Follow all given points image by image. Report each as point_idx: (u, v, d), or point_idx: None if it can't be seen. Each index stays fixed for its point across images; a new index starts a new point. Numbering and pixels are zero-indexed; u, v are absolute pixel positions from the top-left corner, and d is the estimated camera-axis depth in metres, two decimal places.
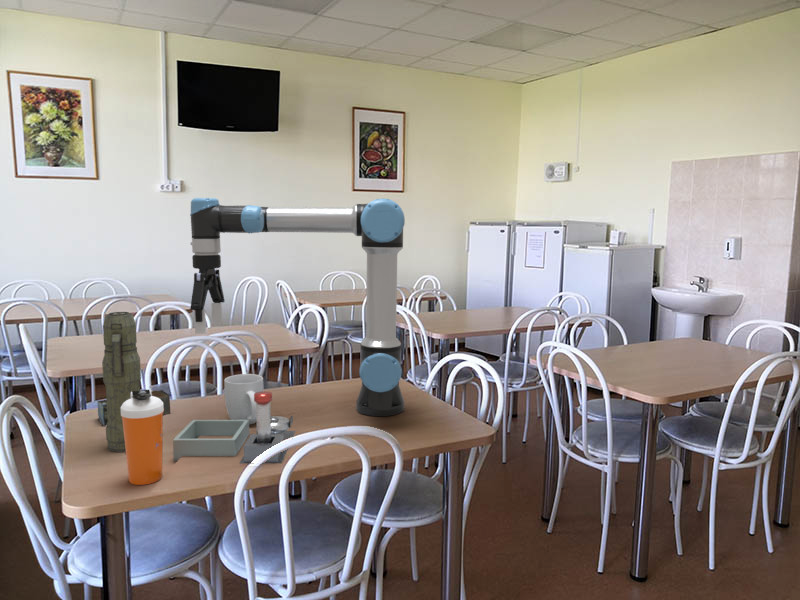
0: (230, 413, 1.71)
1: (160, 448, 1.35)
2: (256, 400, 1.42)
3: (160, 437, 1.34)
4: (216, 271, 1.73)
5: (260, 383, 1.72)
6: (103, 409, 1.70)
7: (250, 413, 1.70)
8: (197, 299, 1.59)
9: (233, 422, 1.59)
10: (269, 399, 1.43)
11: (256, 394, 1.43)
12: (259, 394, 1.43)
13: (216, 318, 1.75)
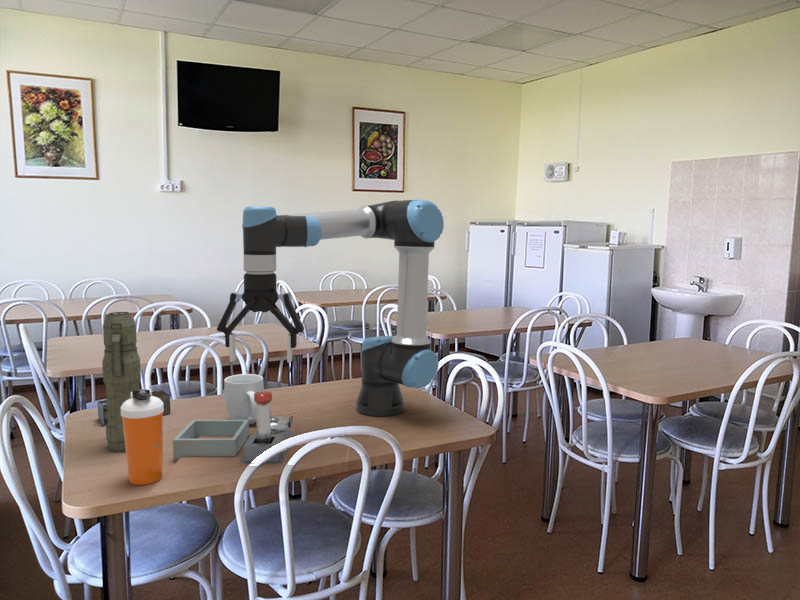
0: (230, 413, 1.71)
1: (160, 448, 1.35)
2: (256, 400, 1.42)
3: (160, 437, 1.34)
4: None
5: (260, 383, 1.72)
6: (103, 409, 1.69)
7: (250, 413, 1.70)
8: (221, 321, 1.41)
9: (233, 422, 1.59)
10: (269, 399, 1.43)
11: (256, 394, 1.43)
12: (259, 394, 1.43)
13: None
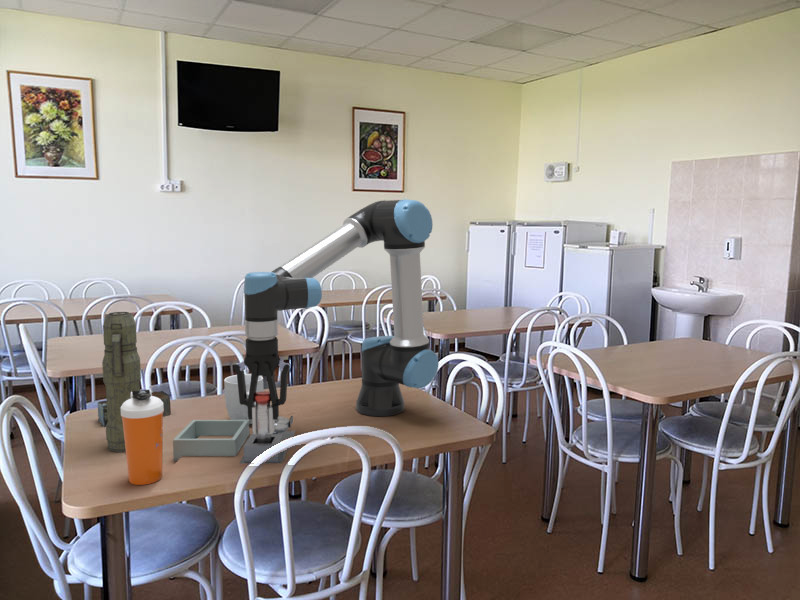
0: (230, 413, 1.71)
1: (160, 448, 1.35)
2: (256, 400, 1.42)
3: (160, 437, 1.34)
4: (284, 365, 1.42)
5: (260, 383, 1.72)
6: (103, 410, 1.69)
7: None
8: None
9: (233, 422, 1.59)
10: (269, 399, 1.43)
11: (256, 394, 1.43)
12: (259, 394, 1.43)
13: None
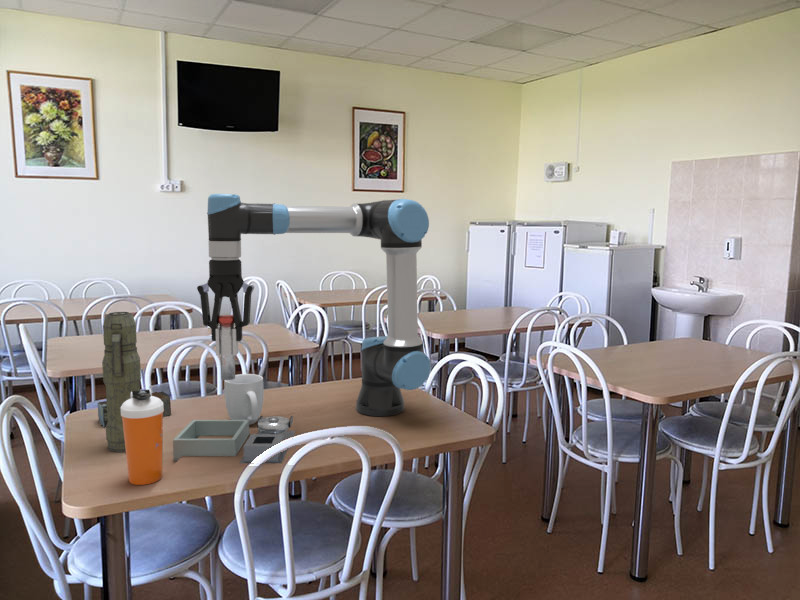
0: (230, 413, 1.71)
1: (160, 448, 1.35)
2: (220, 321, 1.44)
3: (160, 437, 1.34)
4: (248, 287, 1.44)
5: (260, 383, 1.72)
6: (103, 411, 1.68)
7: (250, 413, 1.70)
8: None
9: (233, 422, 1.59)
10: (233, 321, 1.45)
11: (220, 316, 1.45)
12: (222, 316, 1.45)
13: None
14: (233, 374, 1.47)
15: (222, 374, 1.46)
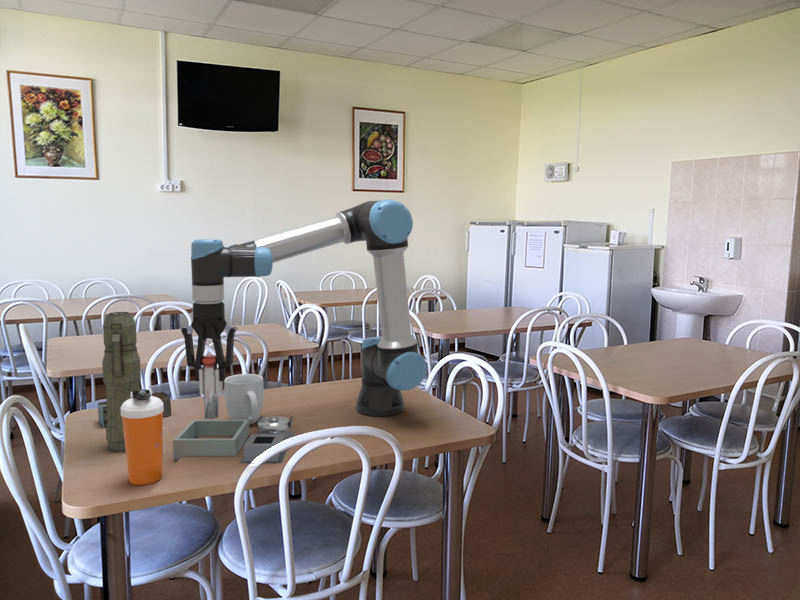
0: (230, 413, 1.71)
1: (160, 448, 1.35)
2: (203, 362, 1.48)
3: (160, 437, 1.34)
4: (230, 329, 1.48)
5: (260, 383, 1.72)
6: (103, 411, 1.68)
7: (250, 413, 1.70)
8: None
9: (233, 422, 1.59)
10: (215, 362, 1.49)
11: (203, 357, 1.49)
12: (206, 357, 1.49)
13: None
14: (216, 413, 1.51)
15: (205, 413, 1.50)
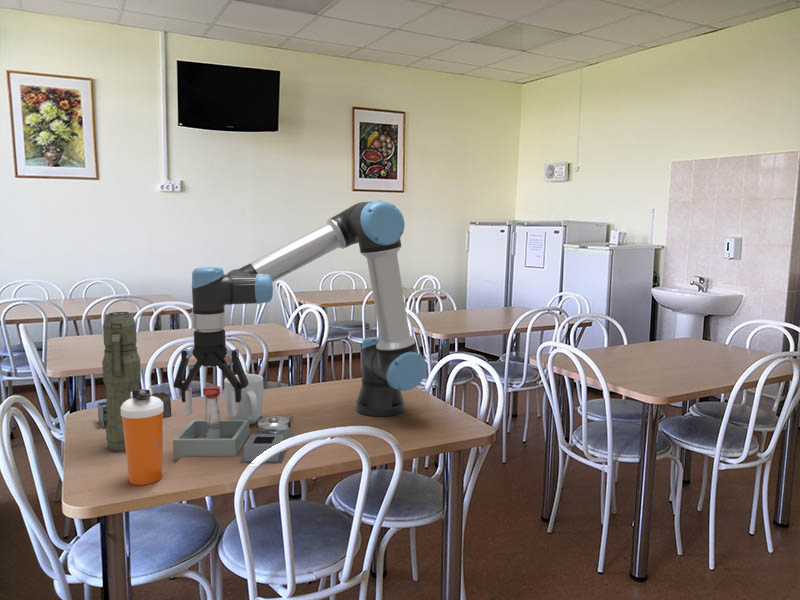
0: (230, 413, 1.71)
1: (160, 448, 1.35)
2: (205, 394, 1.49)
3: (160, 437, 1.34)
4: None
5: (260, 383, 1.72)
6: (103, 412, 1.68)
7: (250, 413, 1.70)
8: None
9: (233, 422, 1.59)
10: (217, 393, 1.50)
11: (205, 388, 1.50)
12: (207, 388, 1.51)
13: None
14: None
15: None
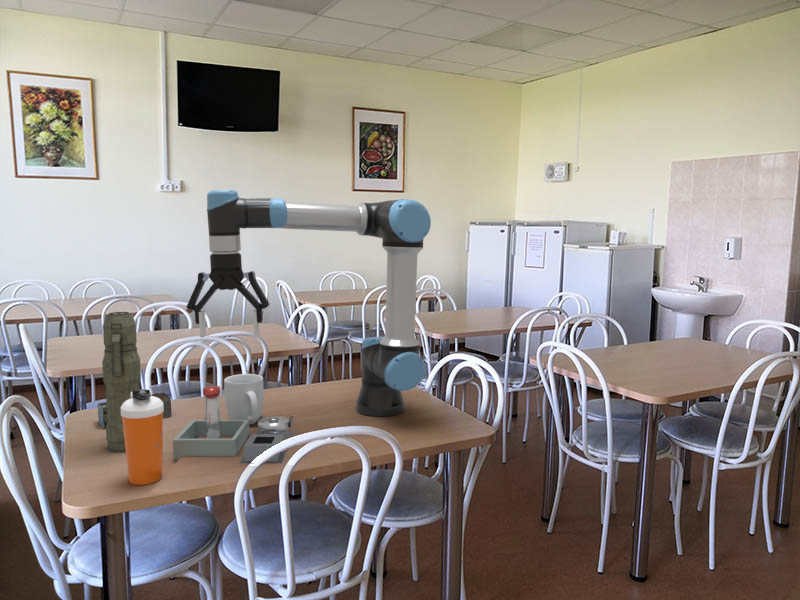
0: (230, 413, 1.71)
1: (160, 448, 1.35)
2: (204, 394, 1.49)
3: (160, 437, 1.34)
4: None
5: (260, 383, 1.72)
6: (103, 412, 1.67)
7: (250, 413, 1.70)
8: None
9: (233, 422, 1.59)
10: (217, 393, 1.50)
11: (205, 388, 1.50)
12: (207, 388, 1.51)
13: None
14: None
15: None
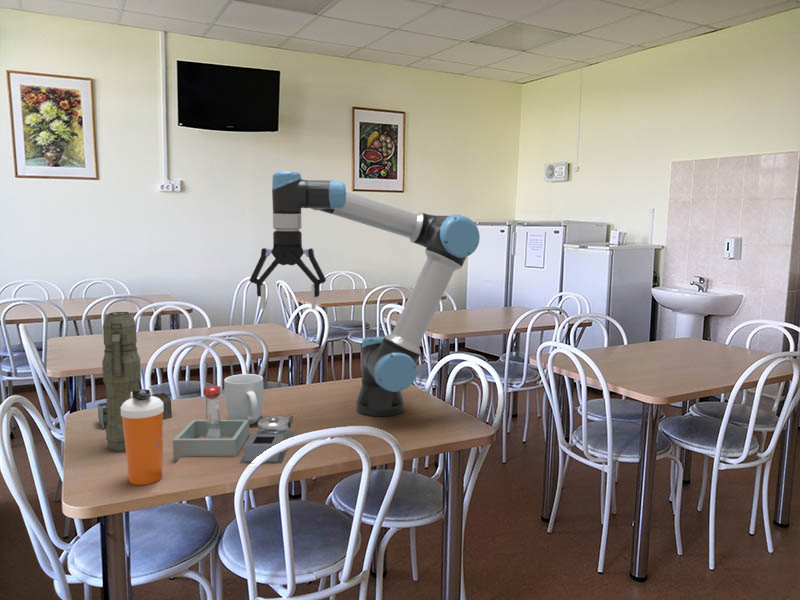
0: (230, 413, 1.71)
1: (160, 448, 1.35)
2: (205, 394, 1.49)
3: (160, 437, 1.34)
4: (308, 250, 1.60)
5: (260, 383, 1.72)
6: (103, 412, 1.67)
7: (250, 413, 1.70)
8: (253, 273, 1.61)
9: (233, 422, 1.59)
10: (217, 393, 1.50)
11: (205, 388, 1.50)
12: (208, 388, 1.51)
13: None
14: None
15: None
